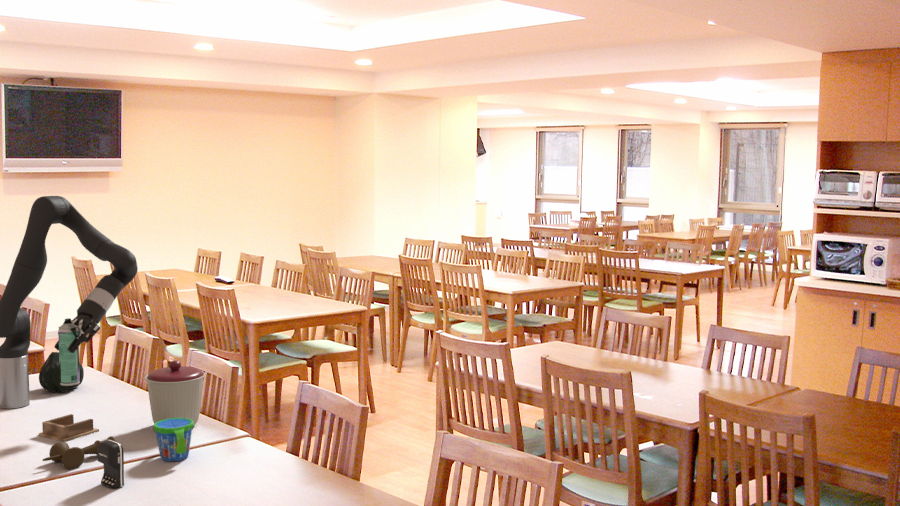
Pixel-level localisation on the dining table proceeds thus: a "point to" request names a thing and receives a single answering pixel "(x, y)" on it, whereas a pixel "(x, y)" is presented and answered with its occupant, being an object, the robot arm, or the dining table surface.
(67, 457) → the kendama
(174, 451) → the snack cup
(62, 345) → the spray can
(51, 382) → the squash
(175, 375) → the canister
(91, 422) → the keeper cradle
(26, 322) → the robot arm
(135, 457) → the dining table surface
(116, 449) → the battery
